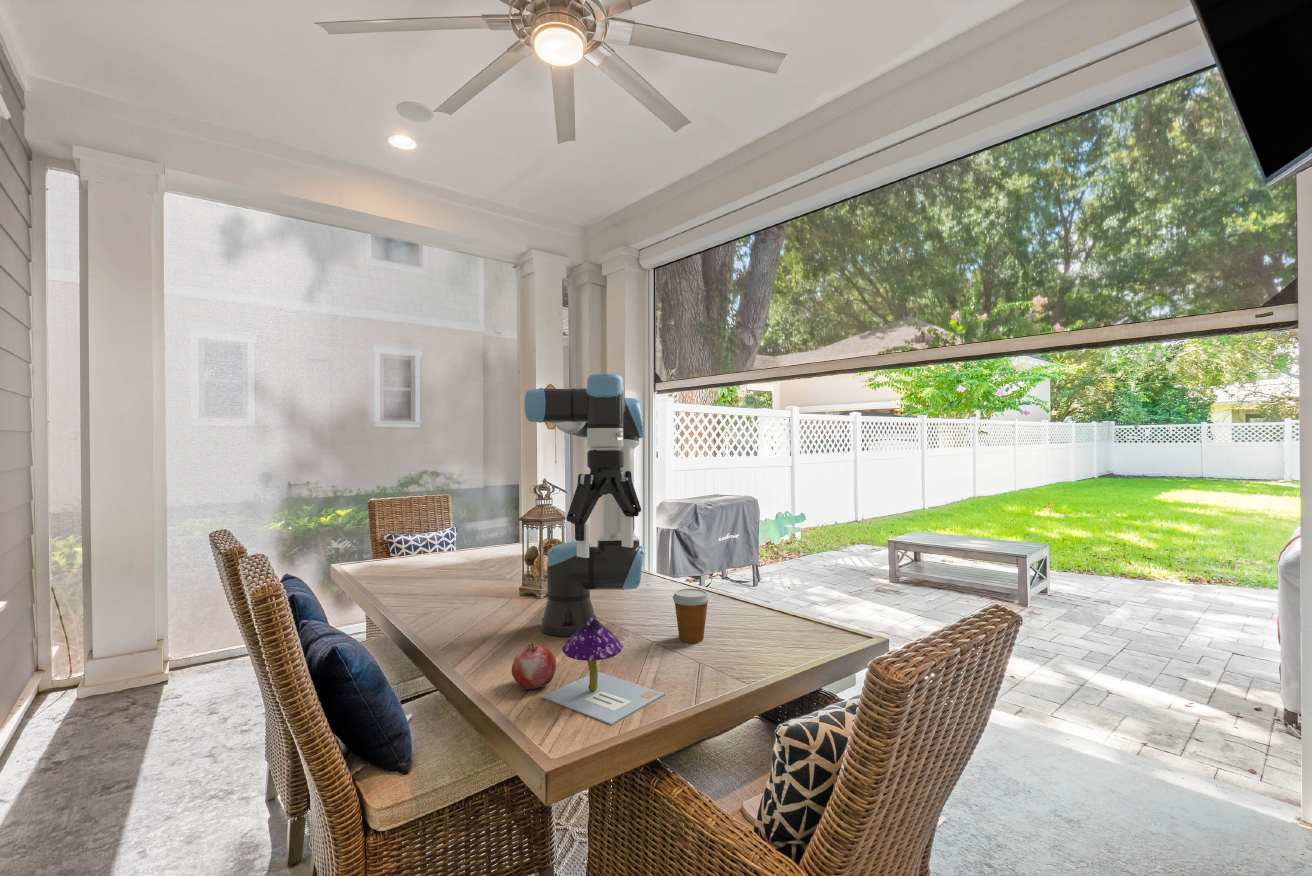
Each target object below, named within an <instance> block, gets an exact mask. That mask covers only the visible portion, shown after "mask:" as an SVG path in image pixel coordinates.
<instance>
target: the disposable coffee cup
mask: <svg viewBox="0 0 1312 876" xmlns="http://www.w3.org/2000/svg"><path fill="white" fill-rule="evenodd" d="M672 599H673V602H674V608H675V615H676V622H677V630H678V637H679V640H680V642H684V643H688V644H689V643H690V644H691V643H692V644H695V643H700V642H702V641H704V638H705V637H704V636H705V629H706V628H705V627H706V619H707V611H708V610H707V609H708V602H709V600H710V596H709V593H708V591H706V590H704V589H700V588H680V589H677V590H675V591H674V594H673V596H672Z"/></svg>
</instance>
